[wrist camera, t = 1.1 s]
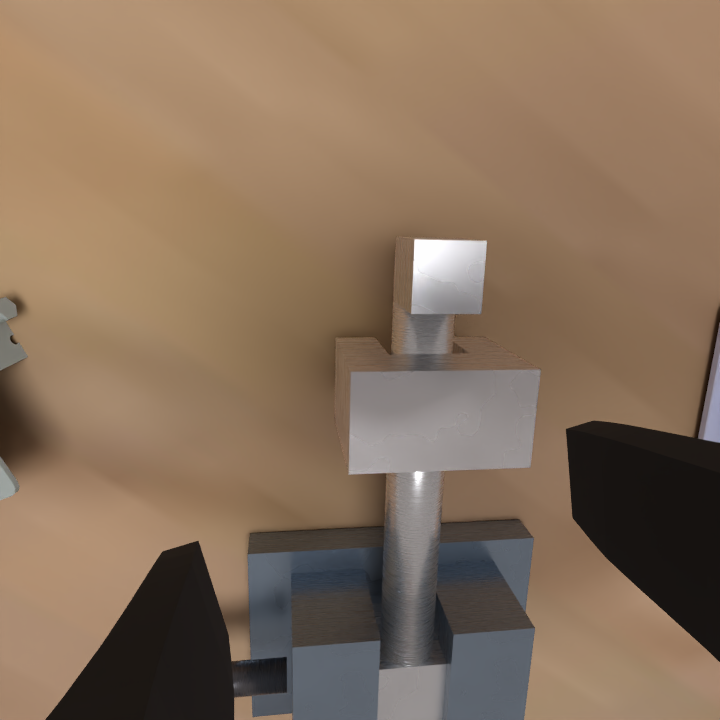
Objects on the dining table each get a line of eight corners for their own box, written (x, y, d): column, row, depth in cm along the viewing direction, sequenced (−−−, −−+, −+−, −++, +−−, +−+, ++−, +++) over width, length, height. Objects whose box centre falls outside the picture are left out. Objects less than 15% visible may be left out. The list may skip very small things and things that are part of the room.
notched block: (484, 336, 20) (540, 369, 15) (478, 415, 20) (530, 467, 16) (335, 337, 19) (350, 372, 15) (334, 418, 20) (349, 474, 15)
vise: (549, 237, 22) (656, 244, 15) (503, 666, 27) (570, 801, 20) (141, 228, 20) (75, 232, 13) (175, 695, 25) (138, 857, 18)
